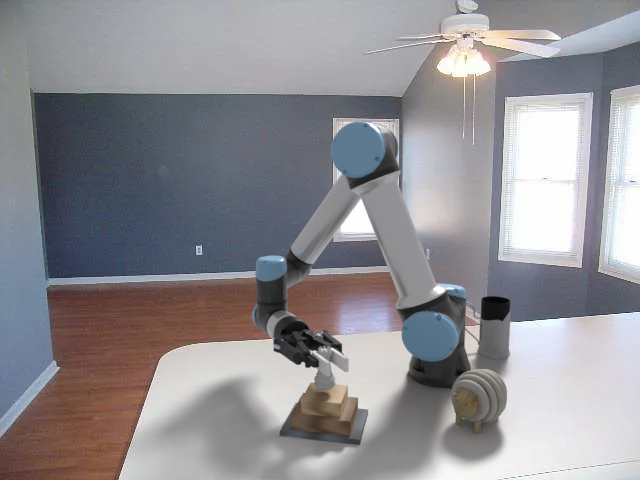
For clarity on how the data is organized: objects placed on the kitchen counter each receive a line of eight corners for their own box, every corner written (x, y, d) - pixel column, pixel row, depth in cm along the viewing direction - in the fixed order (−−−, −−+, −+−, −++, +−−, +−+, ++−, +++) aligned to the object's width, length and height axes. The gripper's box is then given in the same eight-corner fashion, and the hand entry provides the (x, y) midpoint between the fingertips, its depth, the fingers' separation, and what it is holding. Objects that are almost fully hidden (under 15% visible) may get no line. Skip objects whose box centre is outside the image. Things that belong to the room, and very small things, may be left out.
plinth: (368, 413, 109) (368, 382, 108) (359, 444, 98) (359, 410, 97) (295, 406, 113) (295, 376, 112) (279, 435, 101) (278, 402, 100)
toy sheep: (435, 429, 103) (436, 377, 101) (473, 398, 115) (474, 352, 113) (486, 448, 96) (488, 393, 94) (520, 414, 108) (522, 364, 107)
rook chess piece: (333, 391, 101) (333, 353, 100) (311, 389, 102) (311, 351, 101) (337, 381, 106) (337, 344, 104) (316, 380, 107) (315, 343, 105)
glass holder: (510, 359, 137) (513, 305, 134) (455, 354, 141) (457, 301, 139) (509, 348, 145) (512, 296, 142) (458, 343, 149) (459, 293, 147)
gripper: (319, 340, 123) (373, 376, 102) (255, 353, 116) (299, 395, 95) (319, 310, 122) (373, 341, 101) (254, 321, 114) (298, 357, 94)
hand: (337, 367), depth 98 cm, fingers closed on rook chess piece, 3 cm apart
